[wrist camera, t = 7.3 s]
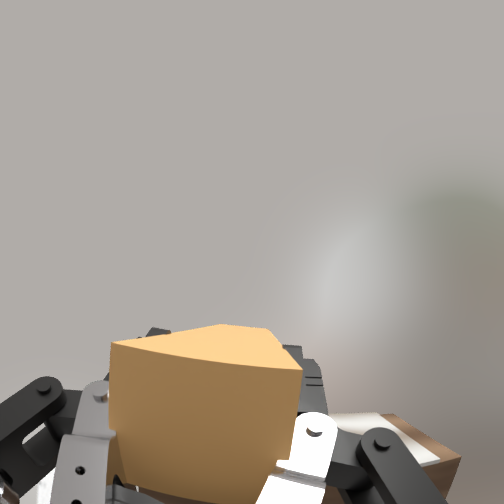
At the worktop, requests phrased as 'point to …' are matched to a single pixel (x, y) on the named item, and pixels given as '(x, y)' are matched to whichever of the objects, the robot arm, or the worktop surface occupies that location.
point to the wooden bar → (204, 411)
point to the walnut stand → (420, 445)
